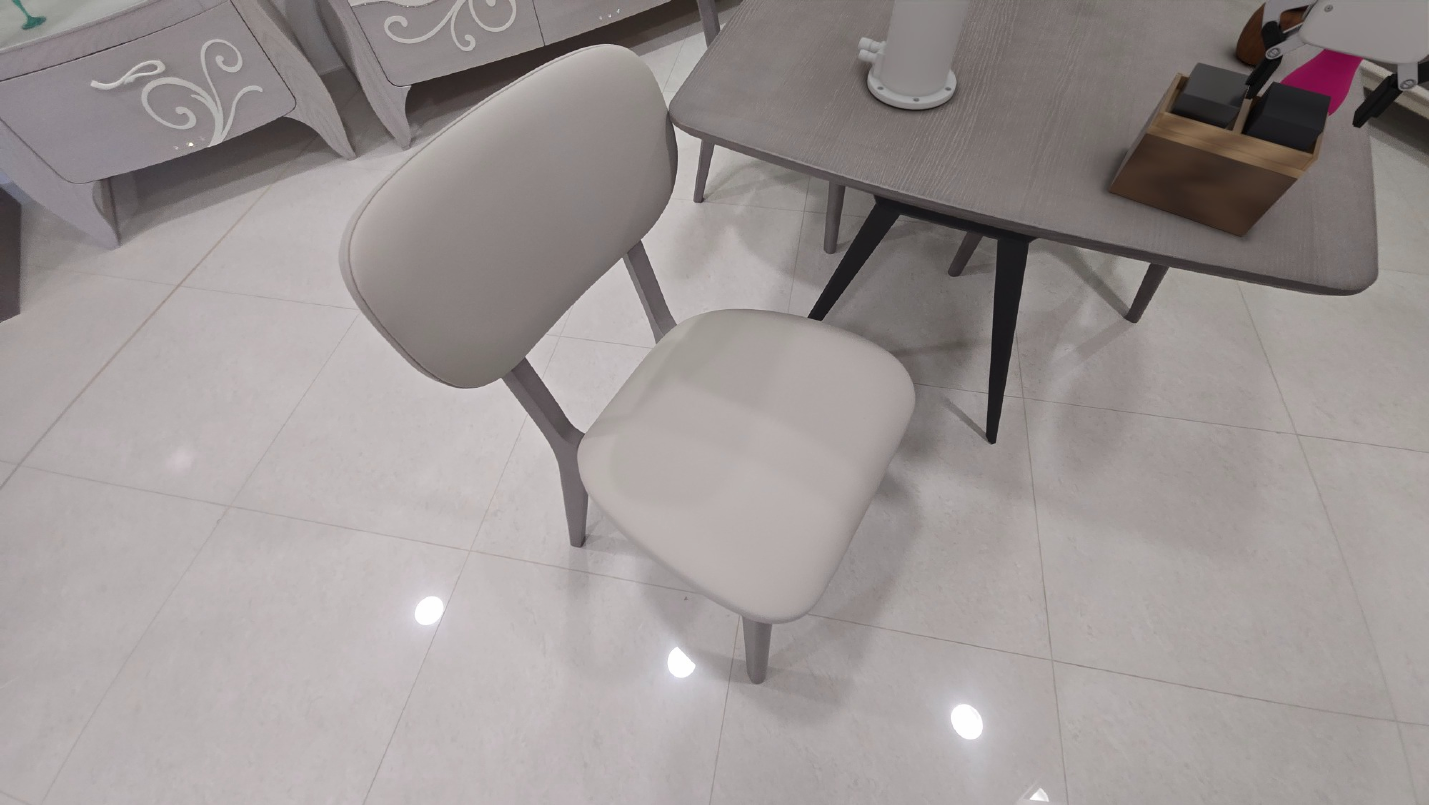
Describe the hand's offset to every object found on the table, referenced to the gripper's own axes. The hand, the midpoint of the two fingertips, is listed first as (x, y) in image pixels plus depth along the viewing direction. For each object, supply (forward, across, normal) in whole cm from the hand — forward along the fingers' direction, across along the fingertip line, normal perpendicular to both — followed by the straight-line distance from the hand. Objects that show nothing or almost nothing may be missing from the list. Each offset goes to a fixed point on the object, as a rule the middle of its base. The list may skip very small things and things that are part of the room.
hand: (1302, 106), depth 61 cm
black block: (+4, 0, 0) cm, 4 cm away
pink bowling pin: (+13, -4, -20) cm, 24 cm away
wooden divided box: (+12, +4, 0) cm, 13 cm away
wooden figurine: (+13, +2, -36) cm, 38 cm away
